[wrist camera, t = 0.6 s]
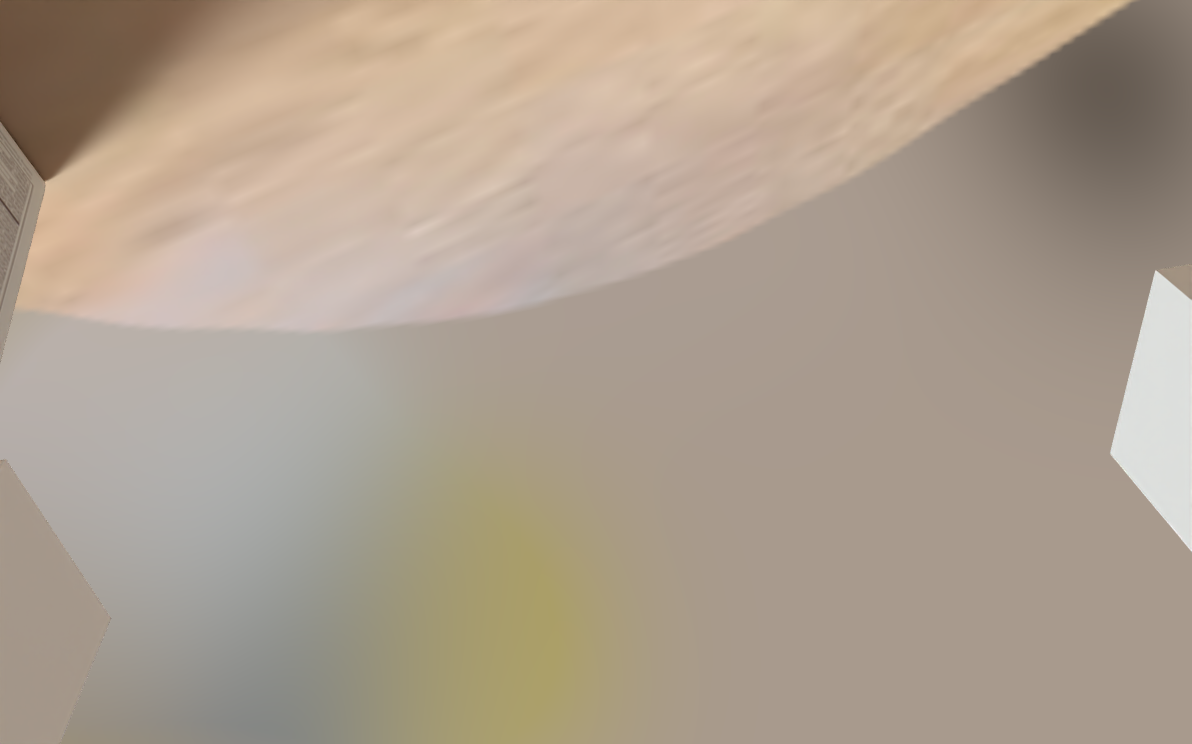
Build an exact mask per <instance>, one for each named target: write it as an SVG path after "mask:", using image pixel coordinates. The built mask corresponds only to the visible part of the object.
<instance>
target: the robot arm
mask: <svg viewBox="0 0 1192 744" xmlns="http://www.w3.org/2000/svg"><path fill="white" fill-rule="evenodd" d="M1110 454H1111V455H1112V457H1113V458H1114V459H1115V460H1116V461H1117V463H1118V464H1119V465H1120V466H1121V467H1122V468H1123V470H1124V471H1125V472H1126V473H1127V474H1128V476H1129V477H1130V478H1131V479H1132V481H1133V482H1134V483H1135V484H1136V485H1137V487H1138V488H1139V489H1140V490H1141V491H1142V493H1143V494H1144V495H1145V496H1146V497H1147V498H1148V500H1149V501H1150V502H1151V503H1152V505H1153V506H1154V507H1155V508H1156V509H1157V510H1158V512H1159V513H1160V514H1161V515H1162V517H1163V518H1164V519H1165V520H1166V521H1167V523H1168V524H1169V525H1170V526H1171V527H1172V529H1173V530H1174V531H1175V532H1176V533H1177V535H1178V536H1179V537H1180V538H1181V539H1182V541H1183V542H1184V543H1185V544H1186V545H1187V546H1188V548H1189V549H1190V550H1191V551H1192V264H1189V265H1183V266H1177V267H1171V268H1165V269H1158V270H1156V271H1155V275H1154V279H1153V283H1152V287H1151V291H1150V295H1149V299H1148V303H1147V307H1146V311H1145V315H1144V319H1143V323H1142V327H1141V331H1140V335H1139V339H1138V344H1137V347H1136V351H1135V355H1134V359H1133V363H1132V367H1131V371H1130V375H1129V380H1128V383H1127V387H1126V392H1125V396H1124V399H1123V404H1122V407H1121V412H1120V416H1119V420H1118V424H1117V428H1116V432H1115V436H1114V440H1113V444H1112V448H1111V452H1110ZM110 620H111V617H110V616H109V614H108V613H107V611H106V610H105V608H104V607H103V605H102V604H101V602H100V601H99V599H98V598H97V596H96V595H95V593H94V591H93V590H92V588H91V587H90V586H89V584H88V582H87V581H86V579H85V578H84V576H83V575H82V573H81V572H80V571H79V569H78V567H77V566H76V565H75V563H74V561H73V560H72V558H71V557H70V555H69V554H68V552H67V551H66V549H65V548H64V546H63V545H62V543H61V542H60V540H59V539H58V537H57V536H56V534H55V533H54V531H53V530H52V528H51V527H50V525H49V524H48V522H47V521H46V519H45V518H44V516H43V515H42V513H41V511H40V510H39V508H38V507H37V505H36V504H35V502H34V501H33V500H32V498H31V496H30V495H29V493H28V492H27V490H26V489H25V487H24V486H23V484H22V483H21V481H20V480H19V478H18V477H17V475H16V474H15V472H14V471H13V469H12V468H11V466H10V465H9V463H8V462H7V460H6V459H4V460H0V744H60V743H61V740H62V738H63V735H64V733H65V731H66V728H67V726H68V723H69V721H70V718H71V716H72V713H73V711H74V708H75V706H76V703H77V701H78V699H79V696H80V694H81V691H82V689H83V686H84V684H85V681H86V679H87V677H88V674H89V671H90V669H91V667H92V664H93V662H94V659H95V657H96V654H97V652H98V650H99V647H100V644H101V642H102V640H103V637H104V635H105V632H106V630H107V627H108V625H109V623H110Z"/></svg>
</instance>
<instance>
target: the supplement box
mask: <svg viewBox="0 0 1192 744" xmlns="http://www.w3.org/2000/svg"><path fill="white" fill-rule="evenodd" d="M44 191H45V182H44V181H43V179H42V178H41V177H40V175H39V174H38V173H37V171H36V170H35V169H34V167H33V166H32V165H31V163H30V162H29V161H28V159H27V158H26V156H25V155H24V154H23V152H22V151H21V150H20V148H19V147H18V145H17V144H16V143H15V141H14V140H13V138H12V137H11V136H10V134H9V133H8V132H7V130H6V129H5V127H4V126H3V125H2V123H1V122H0V362H1V357H2V354H3V350H4V346H5V342H6V338H7V334H8V331H9V327H10V322H11V319H12V315H13V311H14V307H15V303H16V300H17V296H18V292H19V288H20V284H21V281H22V277H23V273H24V269H25V265H26V261H27V257H28V253H29V249H30V246H31V243H32V238H33V234H34V231H35V227H36V223H37V219H38V215H39V210H40V207H41V203H42V200H43V196H44Z"/></svg>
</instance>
